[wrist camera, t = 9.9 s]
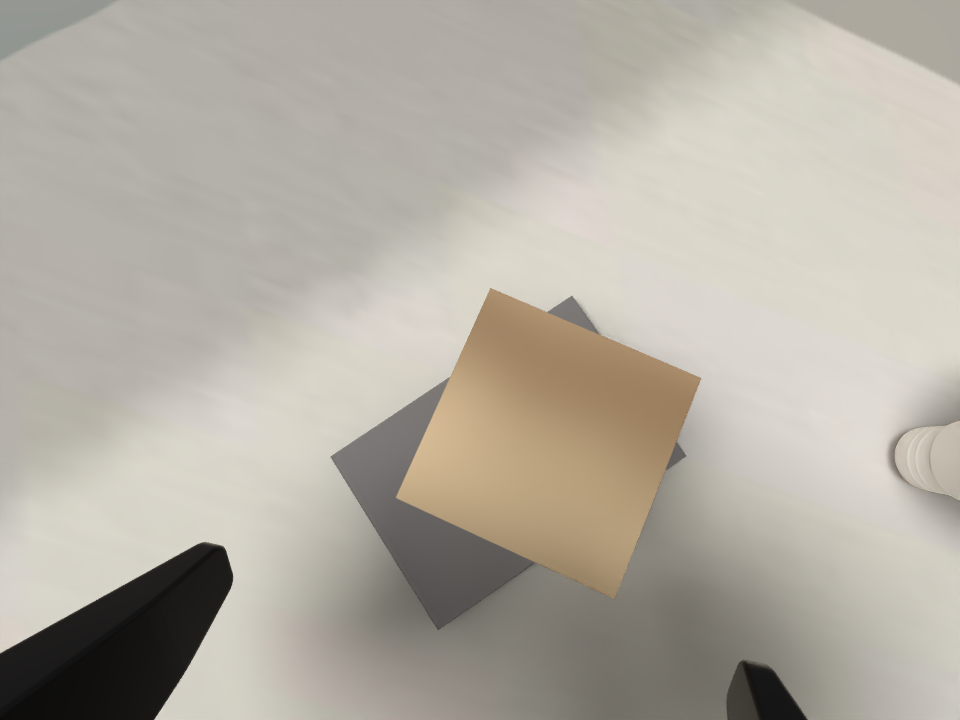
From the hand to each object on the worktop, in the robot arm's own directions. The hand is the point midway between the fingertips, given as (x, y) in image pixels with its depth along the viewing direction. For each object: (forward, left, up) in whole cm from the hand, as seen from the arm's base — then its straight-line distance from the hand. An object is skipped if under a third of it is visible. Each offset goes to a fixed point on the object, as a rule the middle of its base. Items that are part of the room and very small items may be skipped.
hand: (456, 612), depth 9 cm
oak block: (+3, +1, -12) cm, 12 cm away
